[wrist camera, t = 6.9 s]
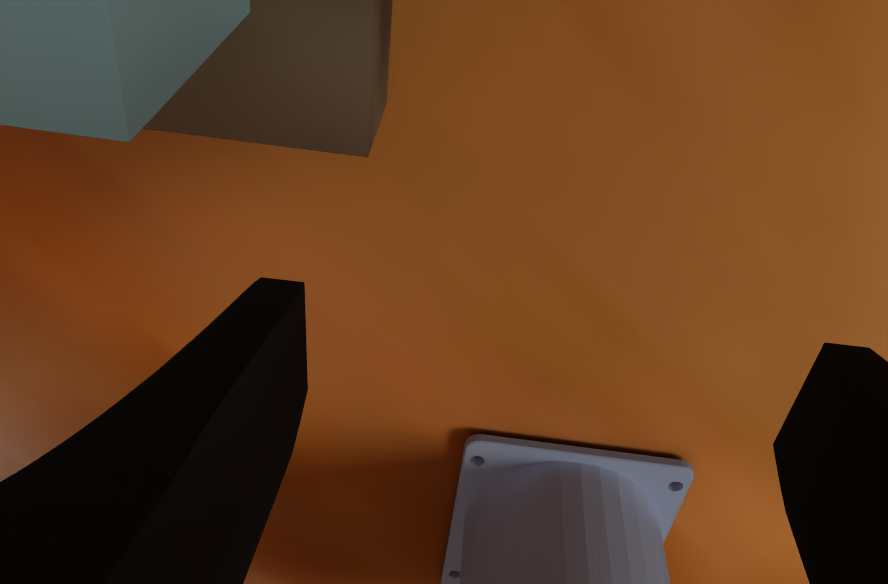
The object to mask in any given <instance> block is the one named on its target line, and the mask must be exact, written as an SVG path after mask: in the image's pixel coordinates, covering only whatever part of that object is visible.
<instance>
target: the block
mask: <svg viewBox="0 0 888 584" xmlns="http://www.w3.org/2000/svg"><path fill="white" fill-rule="evenodd" d="M249 13H250V0H0V125H6V126H13V127H20V128H28V129H35V130H43V131H50V132H57V133H65V134H72V135H79V136H87V137H94V138H101V139H109V140H116V141H124V142H130V141H131V140H132V139H133V138H134V137H135V136H136V135H137V134H138V133H139V131H140V130H141V129H142V128H143V127H144V126H145V125H146V124H147V123H148V122H149V121H150V120H151V118H152V117H153V116H154V115H155V114H156V113H157V112H158V111H159V110H160V109H161V108H162V107H163V106H164V104H165V103H166V102H167V101H168V100H169V99H170V98H171V97H172V96H173V95H174V94H175V93H176V92H177V90H178V89H179V88H180V87H181V86H182V85H183V84H184V83H185V82H186V81H187V80H188V79H189V77H190V76H191V75H192V74H193V73H194V72H195V71H196V70H197V69H198V68H199V67H200V66H201V65H202V63H203V62H204V61H205V60H206V59H207V58H208V57H209V56H210V55H211V54H212V53H213V52H214V50H215V49H216V48H217V47H218V46H219V45H220V44H221V43H222V42H223V41H224V40H225V39H226V38H227V36H228V35H229V34H230V33H231V32H232V31H233V30H234V29H235V28H236V27H237V26H238V25H239V24H240V22H241V21H242V20H243V19H244V18H245V17H246V16H247V15H248V14H249Z"/></svg>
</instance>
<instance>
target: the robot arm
mask: <svg viewBox="0 0 888 584" xmlns="http://www.w3.org/2000/svg"><path fill="white" fill-rule="evenodd" d="M307 390H308V383H307V351H306V319H305V287H304V282H297V281H288V280H279V279H271V278H262V277H261V278H260V279H258V280H257V281H256V282H254V283H253V284H252V285H251V286H250V287H249V288H248V289H247V290H245V291H244V292H243V293H242V294H241V295H240V296H239V297H238V298H237V299H236V300H235V301H234V302H233V303H232V304H231V305H230V306H229V307H228V308H226V309H225V310H224V311H223V312H222V313H221V314H220V315H219V316H218V317H217V318H216V319H215V320H214V321H213V322H211V323H210V324H209V325H208V326H207V327H206V328H205V329H204V330H203V331H202V332H201V333H200V334H198V335H197V336H196V337H195V338H194V339H193V340H192V341H191V342H189V343H188V344H187V345H186V346H185V347H184V348H183V349H181V350H180V351H179V352H178V353H177V354H176V355H174V356H173V357H172V358H171V359H170V360H169V361H168V362H166V363H165V364H164V365H163V366H162V367H161V368H160V369H158V370H157V371H156V372H155V373H154V374H152V375H151V376H150V377H149V378H148V379H146V380H145V381H144V382H142V383H141V384H140V385H139V386H137V387H136V388H135V389H134V390H132V391H131V392H130V393H128V394H127V395H126V396H125V397H123V398H122V399H121V400H120V401H118V402H117V403H116V404H114V405H113V406H112V407H111V408H109V409H108V410H107V411H106V412H104V413H103V414H102V415H100V416H99V417H98V418H96V419H95V420H93V421H92V422H91V423H89V424H88V425H87V426H85V427H84V428H82V429H81V430H80V431H78V432H77V433H75V434H74V435H73V436H71V437H70V438H68V439H67V440H65V441H64V442H63V443H61V444H60V445H58V446H57V447H55V448H54V449H52V450H51V451H49V452H48V453H46V454H45V455H43V456H42V457H40V458H39V459H37V460H36V461H34V462H33V463H31V464H29V465H28V466H26V467H25V468H23V469H21V470H20V471H18V472H17V473H15V474H13V475H12V476H10V477H8V478H6V479H5V480H3V481H1V482H0V584H243V583H244V580H245V577H246V575H247V572H248V569H249V567H250V564H251V561H252V559H253V556H254V554H255V551H256V548H257V546H258V543H259V540H260V538H261V535H262V532H263V530H264V527H265V525H266V522H267V519H268V517H269V514H270V511H271V509H272V506H273V503H274V501H275V498H276V495H277V493H278V490H279V487H280V485H281V482H282V479H283V477H284V474H285V471H286V469H287V466H288V463H289V460H290V458H291V455H292V452H293V448H294V444H295V440H296V436H297V432H298V428H299V424H300V420H301V416H302V412H303V407H304V403H305V399H306V395H307ZM773 447H774V453H775V459H776V465H777V471H778V476H779V482H780V487H781V492H782V496H783V501H784V506H785V511H786V514H787V517H788V520H789V523H790V526H791V530H792V533H793V536H794V538H795V541H796V544H797V547H798V550H799V553H800V556H801V559H802V562H803V565H804V568H805V571H806V574H807V577H808V580H809V583H810V584H888V362H887V361H886V360H885V359H883V358H882V357H881V356H879V355H878V354H877V353H875V352H874V351H873V350H872V349H870V348H867V347H859V346H850V345H841V344H833V343H824V345H823V347H822V349H821V351H820V352H819V354H818V356H817V358H816V360H815V362H814V364H813V366H812V368H811V370H810V372H809V374H808V376H807V378H806V380H805V382H804V384H803V386H802V388H801V390H800V392H799V394H798V396H797V398H796V400H795V402H794V404H793V406H792V408H791V410H790V412H789V414H788V416H787V418H786V420H785V422H784V424H783V426H782V428H781V429H780V431H779V433H778V435H777V437H776V439H775V441H774V443H773ZM474 456H480V457H474ZM693 478H694V472H693V467H692V465H691V464H690V463H689V462H687V461H684V460H678V459H671V458H663V457H655V456H647V455H639V454H632V453H624V452H616V451H608V450H601V449H593V448H585V447H577V446H570V445H562V444H554V443H546V442H539V441H531V440H523V439H515V438H507V437H500V436H492V435H484V434H475V435H472V436H470V437H468V438H467V440H466V442H465V447H464V452H463V458H462V464H461V469H460V475H459V481H458V486H457V492H456V498H455V504H454V509H453V515H452V521H451V526H450V532H449V538H448V543H447V549H446V555H445V560H444V566H443V572H442V577H441V584H670V580H669V574H668V569H667V563H666V557H665V552H664V546H663V543H664V541H665V538H666V536H667V534H668V532H669V530H670V528H671V526H672V523H673V521H674V519H675V517H676V515H677V513H678V511H679V508H680V506H681V504H682V502H683V500H684V498H685V495H686V493H687V491H688V489H689V487H690V485H691V483H692V480H693Z"/></svg>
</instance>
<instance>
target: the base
mask: <svg viewBox="0 0 888 584" xmlns="http://www.w3.org/2000/svg"><path fill="white" fill-rule="evenodd" d="M391 13H392V0H250V13H249V14H248V15H247V16H246V17H245V18H244V19H243V20H242V21H241V22H240V24H239V25H238V26H237V27H236V28H235V29H234V30H233V31H232V32H231V33H230V34H229V35H228V36H227V38H226V39H225V40H224V41H223V42H222V43H221V44H220V45H219V46H218V47H217V48H216V49H215V50H214V52H213V53H212V54H211V55H210V56H209V57H208V58H207V59H206V60H205V61H204V62H203V63H202V65H201V66H200V67H199V68H198V69H197V70H196V71H195V72H194V73H193V74H192V75H191V76H190V77H189V79H188V80H187V81H186V82H185V83H184V84H183V85H182V86H181V87H180V88H179V89H178V90H177V92H176V93H175V94H174V95H173V96H172V97H171V98H170V99H169V100H168V101H167V102H166V103H165V104H164V106H163V107H162V108H161V109H160V110H159V111H158V112H157V113H156V114H155V115H154V116H153V117H152V118H151V120H150V121H149V122H148V123H147V124H146V125H145V126H144V127H143V128H144V129H152V130H160V131H168V132H175V133H183V134H191V135H199V136H207V137H214V138H222V139H230V140H238V141H246V142H253V143H261V144H269V145H277V146H284V147H292V148H300V149H308V150H316V151H323V152H331V153H339V154H347V155H354V156H362V157H368V155H369V152H370V149H371V146H372V144H373V141H374V138H375V135H376V132H377V129H378V126H379V123H380V120H381V118H382V115H383V112H384V109H385V106H386V98H387V81H388V64H389V47H390V30H391Z"/></svg>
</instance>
